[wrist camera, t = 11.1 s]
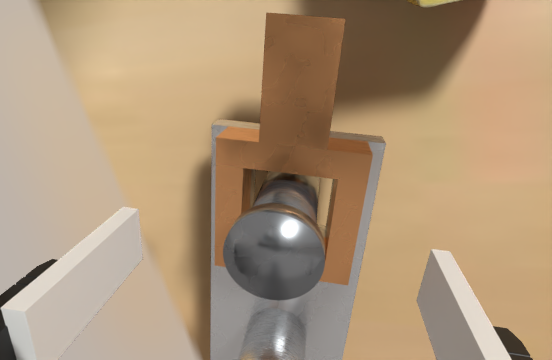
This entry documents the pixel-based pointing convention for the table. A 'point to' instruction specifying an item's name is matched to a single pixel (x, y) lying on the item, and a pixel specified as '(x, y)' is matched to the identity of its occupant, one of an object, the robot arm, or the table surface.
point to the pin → (278, 239)
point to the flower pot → (430, 2)
